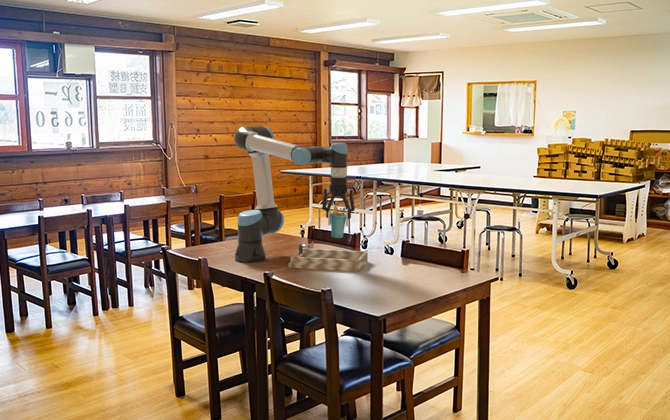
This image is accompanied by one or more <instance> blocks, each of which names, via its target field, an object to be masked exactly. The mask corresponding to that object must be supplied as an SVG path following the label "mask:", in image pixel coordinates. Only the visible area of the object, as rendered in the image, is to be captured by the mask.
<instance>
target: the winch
mask: <svg viewBox="0 0 670 420" xmlns="http://www.w3.org/2000/svg"><path fill="white" fill-rule="evenodd" d="M303 248H308V249H314V241H311V243H309V244H304V243H303V242H300V243H299V244H298V255H297V257H298V256H299V255H300V254H303Z"/></svg>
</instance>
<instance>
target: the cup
mask: <svg viewBox="0 0 670 420" xmlns="http://www.w3.org/2000/svg"><path fill="white" fill-rule="evenodd" d="M332 210H333V211H332V212H331V225H330V227H331V237H332V238H335V239H342V238H344V231H345V227H346V211H347V210H348V211H350V209H348V208H346V206H345V207H344V208H343V210H342V212H341V213H340V212H339V210H338V206H337V205H334V206H333V208H332ZM348 211H347V212H348Z"/></svg>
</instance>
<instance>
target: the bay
mask: <svg viewBox="0 0 670 420" xmlns="http://www.w3.org/2000/svg"><path fill="white" fill-rule="evenodd" d="M368 254H369V252H368V251H361V250H360V251H359V250H345V249H344V250H341V249H327V248H326V249H324V248H313V249H308V248H303V254H300V255H299V256H298V255H297V256H290V261H289V262H288V263H287V265H288V266H287V267H288V269H289V268H292V269H293V268H294V269H307V270H324V271H325V270H326V271H341V272H356V273H357V272H358V273H359V272H361V270H362V269H363V268H364V267H365V266H366V264H367V263H368V262H369V261H368V260H369V259H368V258H369V257H368Z"/></svg>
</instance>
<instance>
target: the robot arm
mask: <svg viewBox="0 0 670 420" xmlns="http://www.w3.org/2000/svg"><path fill="white" fill-rule="evenodd" d="M233 141H234V144H235V146H236V147H237V148H238V149H239V150H242V151H247V155H249V156H250V157H251V161H252V171H253V178H254V179H253V180H254V187H255V194H256V195H255V196H256V201H257V202H256V204H257V205H256V206H255V208H254V209H250V210H244V211H242V212H240V213H239V214H238V215H237V222H236V223H237V247H236V250H235V254H234V260H235V261H236V260H237V261H236V262H240V261H242V263H256V262H263V261H265V260H266V259H267V253H266V250H265V248H264V244H263V236H265V235H269V234H271V235H272V234H274V233H277V232H279V231H280V230H281V229H282V228H283V226H284V223H285V217H284V214H283V213H282V211H281V210H280V209H279V206H278V204H276V203H275V199H274V197H275V196H274V189H273V179H272V171H271V164H270V161H271V160H270V156H272V157H273V156H274V157H276V158H277V157H278V158H279V159H280V158H281V159H284V160H288V161H291V162H293V163H294V164H295V165H299V166H305V165H311V164H321V163H322V164H330V176H331V177H330V187H328V188H324V189H323V192H324V195H323V200H322V201H323V202H322V206H321V207H322V210H323V211H325V218H326V219H327V223H328V224H327V226H330V227H331V214H332V210H330V209H331V208H332V206H333V202H334V201H335V199H336V198H337V197H338V198H341V199H342V201H343V203H344V206H345V207H346V208H348V209H350V211H348V210H346V211H345V214H346V221H345V227H348V226H349V222H350V220H351V219H352V212H354V211H355V210H356V207H355V201H354V200H355V199H354V192H355V191H354V189H352V188H351V189H350V188H348V177H347V176H348V144H347V143H345V142H332V143H330V144H331V145H330V146H319V145H315V146H310V147H308V146H307V147H305V146H301V145H297V144H294V143H289V142H286V141H282V140H279V139H275V135H274V133H273V131H272V129H270V128H269V127H268V126H263V125H250V126H246V125H245V126H242V127H240V128H238V129H237V130H236V131H235V133H234V136H233ZM329 193H331V197H330V200H329V202H328V198H329ZM346 193H348V196H349V201H348V199H347V196H346V195H347V194H346Z"/></svg>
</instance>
